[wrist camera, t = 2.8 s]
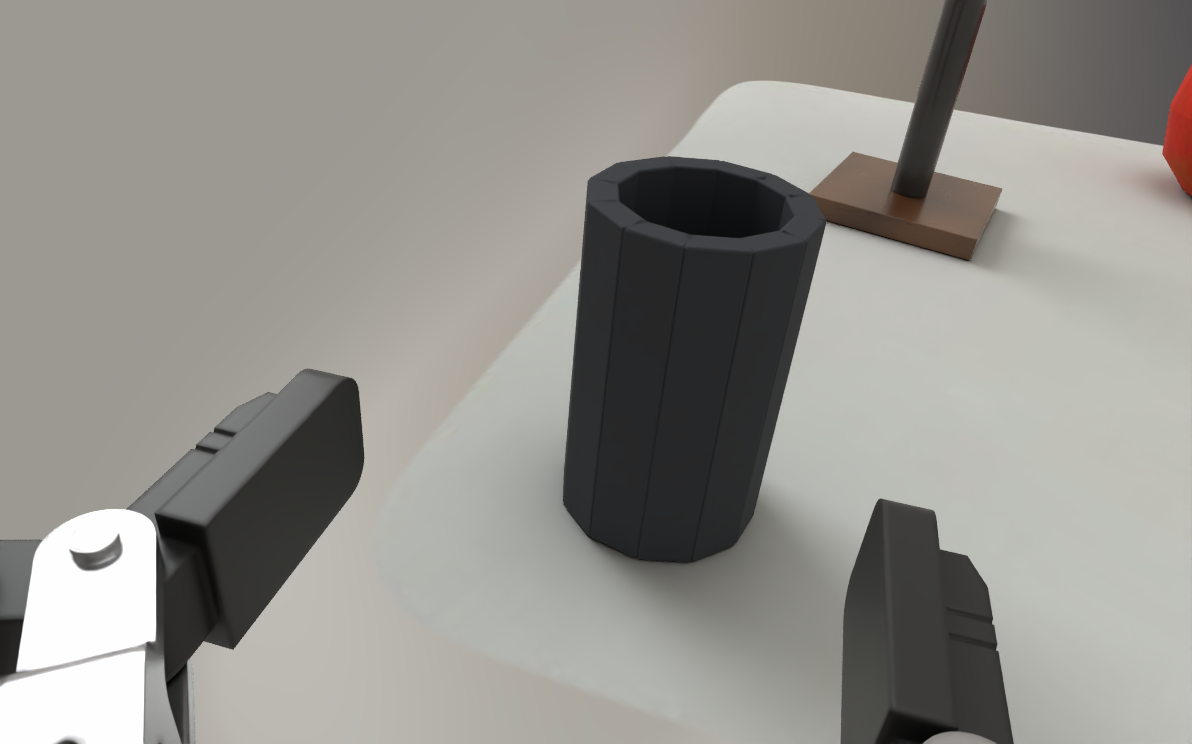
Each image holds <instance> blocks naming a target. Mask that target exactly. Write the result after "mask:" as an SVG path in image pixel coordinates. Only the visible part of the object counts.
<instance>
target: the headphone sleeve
mask: <svg viewBox="0 0 1192 744" xmlns="http://www.w3.org/2000/svg"><path fill="white" fill-rule="evenodd" d="M586 199H587V200H586V210H585V222H584V235H583V247H582V259H581V271H580V283H579V295H578V308H577V320H576V332H575V344H574V356H573V369H572V381H571V393H570V405H569V417H568V430H567V442H566V454H565V466H564V488H563V502H564V505H565V507H566V508H567V509H568V511H569V512H570V513H571V515H572V516H573V517H574V518H575V520H576V521H577V522H578V524H579V525H580V526H581V528H582V529H583V530H584V531H585V533H586V534H587V535H588V536H589V537H590V536H591V538H593V539H595V540H597V541H599V542H601V543H604V544H606V545H608V546H610V547H612V548H614V549H616V550H618V551H621V552H623V553H625V554H627V555H629V556H631V557H633V558H638V559H644V560H662V561H680V562H690V561H692V562H693V561H696V560H698V559H701V558H703V557H706V556H708V555H711V554H713V553H716V552H718V551H721V550H723V549H726V548H728V547H731V546H733V545H734V544H735V543H736V542H737V540H738V539H739V537H740V535H741V534H742V532H743V531H744V529H745V527H746V526H747V524H748V523H749V521H750V519H751V518H752V516H753V514H754V510H755V506H756V502H757V498H758V494H759V490H760V486H761V482H762V478H763V474H764V470H765V466H766V462H767V458H768V454H769V450H770V446H771V442H772V438H773V434H774V430H775V426H776V422H777V418H778V414H779V410H780V406H781V402H782V398H783V394H784V390H785V386H786V382H787V378H788V374H789V370H790V366H791V362H792V358H793V354H794V350H795V346H796V342H797V338H798V334H799V330H800V326H801V322H802V318H803V314H804V310H805V306H806V302H807V298H808V294H809V290H810V286H811V282H812V278H813V274H814V270H815V266H816V262H817V258H818V254H819V250H820V246H821V242H822V238H823V234H824V230H825V226H826V219H825V217H824V215H823V214H822V212H821V210H820V208H819V206H818V205H817V203H816V201H815V199H814V197H812V195H810V194H809V193H807V192H805V191H803V190H801V189H800V188H798V187H796V186H794V185H792V184H790V183H789V182H787V181H785V180H783V179H781V178H780V177H778V176H776V175H772V174H770V173H766V172H762V171H759V170H755V169H751V168H747V167H744V166H740V165H736V164H732V163H728V162H725V161H719V160H708V159H695V158H682V157H670V156H668V157H658V158H650V159H642V160H635V161H626V162H620V163H616V164H614V165H612V166H611V167H609V168H607V169H605V170H603V171H602V172H600V173H598V174H596V175H595V176H593V177H591V178H590V179H589V181H588V186H587V198H586Z"/></svg>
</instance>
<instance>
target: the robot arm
mask: <svg viewBox="0 0 1192 744" xmlns="http://www.w3.org/2000/svg"><path fill="white" fill-rule="evenodd" d="M363 465H364V447H363V435H362V424H361V413H360V401H359V391H358V386H357V383H356V381H355V380H354V379H352V378H349V377H344V376H340V375H335V374H331V373H326V372H322V371H317V370H313V369H305V370H303V371H301V372H300V373H299V374H297V375H296V376H295V377H294V378H293V379H292V380H291V381H290V382H289V383H288V384H287V385H286V386H285V387H284V388H283V389H282V390H281V391H280V392H279V393H278V394H274V393H270V392H267V393H265V394H263V395H261V396H259V397H257V398H255V399H253V400H251V401H249V402H247V403H245V404H242V405H240V406H238V407H237V408H235V409H234V410H233V411H232V412H231V413H230V414H229V415H228V416H227V417H226V418H225V419H223V420H222V421H221V422H220V423H219V424H218V425H217V426H216V427H215V428H214V432H213V433H212V432H209V433H208V434H207V435H206V436H205V437H204V438H203V439H202V440H201V441H200V442H199V443H198V444H196V448H195V450H194V449H191V450H190V451H189V452H188V453H187V454H186V455H184V456H183V458H181V459H180V460H179V461H178V462H177V463H176V464H175V465H174V466H173V467H172V468H171V469H169V470H168V471H167V472H166V473H165V474H164V475H163V476H162V477H161V478H160V479H159V480H158V481H156V482H155V483H154V484H153V485H152V486H151V487H150V488H149V489H148V490H147V491H146V492H144V494H142V496H140V497H139V498H138V499H137V500H136V501H135V502H134V503H133V504H131V505H130V506H129V507H128V508H127V509H126V510H122V509H108V510H101V511H96V512H92V513H88V514H85V515H82V516H79V517H77V518H74V519H72V520H70V521H68V522H66V523H64V524H62V525H61V526H59V527H58V528H56V529H55V530H54V531H52V532H51V533H50V534H49V535H48V536H47V537H46V538H45V539H44V540H0V744H196V743H195V716H194V715H195V714H194V688H193V668H192V663H191V660H190V657H191V656H192V655H193V653H194V652H195V651H196V650H197V649H198V647H199V646H200V645H201V644H202V642H203V641H205V642H209V643H212V644H215V645H219V646H222V647H226V648H229V649H234V648H235V647H236V645H237V644H238V643H239V641H240V640H241V639H242V637H243V636H244V635H245V634H246V632H247V631H248V629H249V628H250V627H251V625H252V624H253V623H254V622H255V621H256V619H257V618H258V616H259V615H260V614H261V613H262V611H263V610H264V609H265V607H266V606H267V605H268V604H269V602H270V601H271V600H272V598H273V597H274V596H275V594H276V593H277V592H278V591H279V589H280V588H281V586H282V585H283V584H284V583H285V581H286V580H287V579H288V577H289V576H290V575H291V573H292V572H293V571H294V570H295V568H296V567H297V565H298V564H299V563H300V562H301V561H302V559H303V558H304V557H305V555H306V554H307V553H308V551H309V550H310V549H311V547H312V546H313V545H314V544H315V542H316V541H317V539H318V538H319V537H320V536H321V534H322V533H323V532H324V530H325V529H326V528H327V527H328V525H329V524H330V523H331V521H332V520H333V519H334V517H335V516H336V515H337V514H338V512H339V511H340V510H341V508H342V507H343V506H344V504H345V503H346V502H347V501H348V499H349V498H350V497H351V495H352V494H353V492H354V491H355V489H356V487H357V485H358V483H359V480H360V477H361V474H362V470H363ZM992 620H993V616H992V610H991V604H990V598H989V592H988V587H987V585H986V584H985V582H984V581H983V579H982V578H981V576H980V575H979V573H978V572H977V570H976V568H975V567H974V565H973V564H972V562H971V561H970V559H969V558H968V556H966V555H961V554H957V553H953V552H948V551H944V550H940V548H939V538H938V529H937V520H936V515H935V512H934V511H933V510H929V509H925V508H920V507H916V506H911V505H907V504H902V503H898V502H894V501H889V500H885V499H879V500H878V501H877V503H876V505H875V507H874V510H873V513H872V516H871V519H870V522H869V525H868V527H867V530H866V533H865V536H864V539H863V542H862V545H861V548H860V551H859V554H858V556H857V559H856V562H855V565H854V568H853V571H852V574H851V577H850V581H849V585H848V590H847V595H846V601H845V608H844V623H843V666H842V709H841V744H1014V743H1013V737H1012V731H1011V725H1010V719H1009V713H1008V707H1007V701H1006V695H1005V689H1004V683H1003V677H1002V671H1001V665H1000V659H999V652H998V651H996V647H997V640H996V634H995V628H994V625H992Z"/></svg>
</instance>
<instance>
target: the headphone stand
mask: <svg viewBox="0 0 1192 744" xmlns="http://www.w3.org/2000/svg"><path fill="white" fill-rule="evenodd" d="M986 3H987V0H945V1H944V4H943V7H942V11H941V14H940V18H939V21H938V25H937V28H936V32H935V35H934V39H933V42H932V46H931V49H930V53H929V56H928V60H927V63H926V66H925V70H924V74H923V77H922V80H921V84H920V87H919V91H918V94H917V98H916V101H915V105H914V108H913V112H912V115H911V119H910V122H909V126H908V129H907V133H906V136H905V140H904V143H903V147H902V150H901V153H900V157H899V160H898V163H896V162H892V161H888V160H884V159H880V158H876V157H872V156H868V155H863V154H859V153H855V152H852V153H851V154H850V155H849V156H848V157H847V158H846V159H845V160H844V161H843V162H842V163H841V164H840V165H839V166H838V167H836V168H835V169H834V170H833V171H832V172H831V173H830V174H829V175H828V176H827V177H826V178H825V179H824V180H823V181H822V182H821V183H820V184H819V185H818V186H817V187H815V188H814V189H813V190H812V191H811V192H810V193H809V194H810V195H812V197H814V199H815V201H816V203H817V205H818V206H819V208H820V210H821V212H822V214H823V215H824V217H825V219H826V220H827V221H830V222H834V223H837V224H841V225H845V226H848V227H852V228H855V229H859V230H862V231H866V232H870V233H873V234H877V235H880V236H884V237H887V238H891V239H895V240H898V241H902V242H905V243H909V244H912V245H916V246H920V247H923V248H927V249H930V250H934V251H938V252H941V253H945V254H948V255H952V256H955V257H959V258H963V259H966V260H970V259H971V257H972V255H973V253H974V251H975V249H976V247H977V245H978V243H979V241H980V239H981V237H982V235H983V233H984V231H985V228H986V226H987V224H988V222H989V220H990V218H991V216H992V214H993V212H994V210H995V208H996V205H997V203H998V200H999V197H1000V194H1001V192H1002V188H998V187H994V186H989V185H985V184H981V183H977V182H973V181H969V180H965V179H961V178H957V177H953V176H949V175H945V174H941V173H937V172H934V170H935V167H936V164H937V161H938V158H939V155H940V151H941V148H942V145H943V142H944V139H945V135H946V132H947V129H948V126H949V123H950V119H951V116H952V113H953V110H954V106H955V103H956V100H957V97H958V94H959V91H960V87H961V84H962V81H963V78H964V75H965V71H966V68H967V65H968V62H969V59H970V56H971V52H972V49H973V46H974V43H975V40H976V36H977V33H978V30H979V27H980V23H981V20H982V17H983V14H984V11H985V7H986Z"/></svg>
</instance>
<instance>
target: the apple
mask: <svg viewBox="0 0 1192 744" xmlns="http://www.w3.org/2000/svg"><path fill="white" fill-rule="evenodd" d="M1162 154H1163V156H1164V157H1165V159H1166V161H1167V163H1168V164H1169V166H1170V168H1171V170H1172V171H1173V173H1174V175H1175V177H1176V178H1177V180H1178V182H1179V184H1180V185H1181V187H1182V189H1183V190H1184V191H1185V192H1186V193H1188V194H1189V195H1190V196H1192V65H1191V67H1190V69H1189V71H1188V72H1187V74H1186V76H1185V78H1184V80H1183V82H1182V84H1181V86H1180V87H1179V89H1178V91H1177V93H1176V95H1175V97H1174V99H1173V101H1172V103H1171V106H1170V112H1169V118H1168V124H1167V129H1166V135H1165V142H1164V147H1163V153H1162Z"/></svg>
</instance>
